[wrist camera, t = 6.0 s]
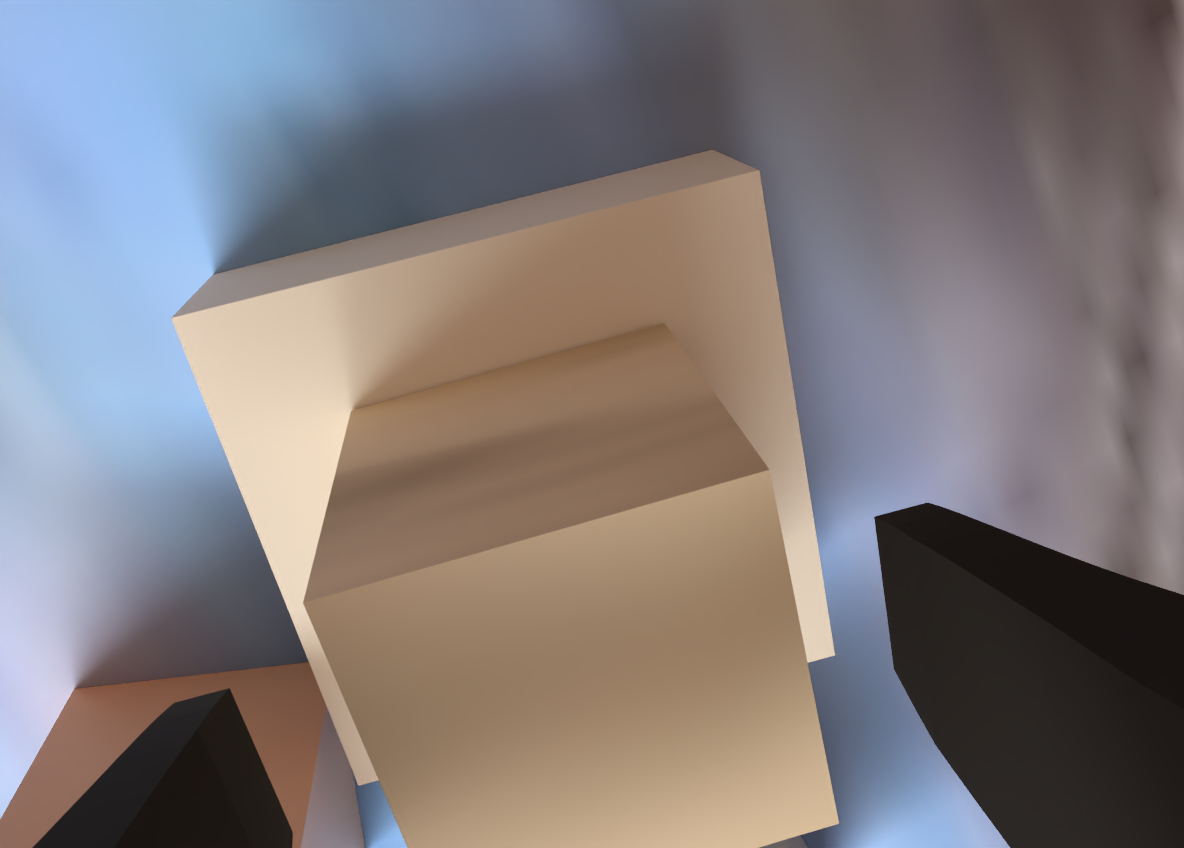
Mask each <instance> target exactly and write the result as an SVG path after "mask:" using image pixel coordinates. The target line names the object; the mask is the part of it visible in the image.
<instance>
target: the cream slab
mask: <svg viewBox="0 0 1184 848" xmlns="http://www.w3.org/2000/svg"><path fill="white" fill-rule="evenodd" d="M171 319H172V321H173V324H174V326H175V329H176V331H177V334H178V336H179V339H180V341H181V344H182V346H183V349H184V351H185V354H186V356H187V359H188V361H189V364H190V366H191V369H192V371H193V374H194V376H195V379H196V381H197V384H198V386H199V389H200V391H201V394H202V396H203V399H204V401H205V404H206V406H207V409H208V411H209V414H210V416H211V419H212V421H213V424H214V426H215V429H216V431H217V434H218V436H219V439H220V441H221V444H222V446H223V449H224V451H225V454H226V456H227V459H228V461H229V464H230V466H231V469H232V471H233V474H234V476H235V479H236V481H237V484H238V486H239V489H240V491H241V494H242V496H243V499H244V501H245V504H246V506H247V509H248V511H249V514H250V516H251V519H252V521H253V524H254V526H255V529H256V531H257V534H258V536H259V539H260V541H261V544H262V546H263V549H264V551H265V554H266V556H267V559H268V561H269V564H270V566H271V569H272V571H273V574H274V576H275V579H276V581H277V584H278V586H279V589H280V591H281V593H282V596H283V598H284V601H285V603H286V606H287V608H288V611H289V613H290V616H291V618H292V621H293V623H294V626H295V628H296V631H297V633H298V636H299V638H300V641H301V643H302V646H303V648H304V651H305V653H306V656H307V658H308V661H309V663H310V666H311V668H312V671H313V673H314V676H315V678H316V681H317V683H318V686H319V688H320V691H321V693H322V696H323V698H324V701H325V703H326V706H327V708H328V711H329V713H330V716H331V718H332V721H333V723H334V726H335V728H336V731H337V733H338V736H339V738H340V741H341V743H342V746H343V748H344V751H345V753H346V756H347V758H348V761H349V763H350V766H351V768H352V771H353V773H354V776H355V778H356V781H357V783H358V786H360V785H363V784H367V783H371V782H374V781H378V777H377V775H376V773H375V770H374V768H373V766H372V763H371V761H370V759H369V756H368V754H367V752H366V749H365V747H364V745H363V742H362V740H361V737H360V735H359V733H358V730H357V728H356V726H355V723H354V721H353V719H352V716H351V714H350V712H349V709H348V707H347V705H346V702H345V700H344V698H343V695H342V693H341V691H340V688H339V686H338V684H337V681H336V679H335V677H334V674H333V672H332V670H331V667H330V665H329V663H328V660H327V658H326V656H325V653H324V651H323V649H322V646H321V644H320V642H319V639H318V637H317V635H316V632H315V630H314V628H313V625H312V623H311V621H310V618H309V616H308V614H307V611H306V609H305V607H304V604H303V601H304V597H305V593H306V589H307V585H308V581H309V577H310V573H311V569H312V565H313V561H314V557H315V553H316V549H317V545H318V541H319V537H320V533H321V529H322V525H323V521H324V517H325V513H326V509H327V505H328V501H329V497H330V493H331V489H332V485H333V481H334V477H335V473H336V469H337V465H338V461H339V457H340V453H341V449H342V445H343V441H344V437H345V433H346V429H347V425H348V421H349V417H350V413H351V411H352V410H356V409H359V408H363V407H366V406H370V405H374V404H377V403H381V402H384V401H388V400H391V399H395V398H398V397H402V396H406V395H409V394H413V393H416V392H420V391H423V390H427V389H431V388H434V387H438V386H441V385H445V384H448V383H452V382H456V381H459V380H463V379H466V378H470V377H473V376H477V375H481V374H484V373H488V372H491V371H495V370H498V369H502V368H505V367H509V366H513V365H516V364H520V363H523V362H527V361H530V360H534V359H538V358H541V357H545V356H548V355H552V354H555V353H559V352H563V351H566V350H570V349H573V348H577V347H580V346H584V345H587V344H591V343H595V342H598V341H602V340H605V339H609V338H612V337H616V336H620V335H623V334H627V333H630V332H634V331H637V330H641V329H645V328H648V327H652V326H655V325H659V324H662V323H665V325H666V326H667V328H668V329H669V330H670V332H671V333H672V335H673V336H674V337H675V339H676V340H677V342H678V343H679V344H680V346H681V347H682V349H683V350H684V351H685V353H686V354H687V355H688V357H689V358H690V360H691V361H692V362H693V364H694V365H695V367H696V368H697V369H698V371H699V372H700V374H701V375H702V376H703V378H704V379H705V381H706V382H707V383H708V385H709V386H710V387H711V389H712V390H713V392H714V393H715V394H716V396H717V397H718V399H719V400H720V401H721V403H722V404H723V406H724V407H725V408H726V410H727V411H728V413H729V414H730V415H731V417H732V418H733V419H734V421H735V422H736V424H737V425H738V426H739V428H740V429H741V431H742V432H743V433H744V435H745V436H746V438H747V439H748V440H749V442H750V443H751V445H752V446H753V447H754V449H755V450H756V451H757V453H758V454H759V456H760V457H761V458H762V460H763V461H764V463H765V464H766V465H767V467H768V468H769V470H770V474H771V479H772V484H773V490H774V495H775V500H776V505H777V510H778V515H779V520H780V525H781V530H782V535H783V540H784V545H785V551H786V556H787V561H788V566H789V571H790V576H791V581H792V586H793V591H794V596H795V601H796V606H797V612H798V617H799V622H800V627H801V632H802V637H803V642H804V647H805V652H806V657H807V662H808V663H809V662H813V661H816V660H820V659H824V658H827V657H831V656H835V652H834V646H833V639H832V633H831V626H830V620H829V614H828V607H827V601H826V594H825V588H824V582H823V575H822V569H821V562H820V556H819V549H818V543H817V537H816V530H815V524H814V517H813V511H812V505H811V498H810V492H809V485H808V479H807V472H806V466H805V460H804V453H803V447H802V440H801V434H800V428H799V421H798V415H797V408H796V402H795V395H794V389H793V383H792V376H791V370H790V363H789V357H788V350H787V344H786V338H785V331H784V325H783V318H782V312H781V306H780V299H779V293H778V286H777V280H776V273H775V267H774V261H773V254H772V248H771V241H770V235H769V229H768V222H767V216H766V209H765V203H764V196H763V190H762V184H761V177H760V171H759V170H758V169H756V168H753V167H751V166H749V165H747V164H744V163H742V162H740V161H737V160H735V159H733V158H730V157H728V156H726V155H724V154H721V153H719V152H717V151H714V150H709V151H705V152H701V153H697V154H693V155H689V156H685V157H681V158H677V159H673V160H669V161H665V162H661V163H657V164H653V165H649V166H645V167H641V168H637V169H633V170H629V171H625V172H621V173H617V174H613V175H609V176H605V177H601V178H597V179H593V180H589V181H585V182H581V183H577V184H573V185H569V186H565V187H561V188H557V189H553V190H549V191H545V192H541V193H537V194H533V195H529V196H525V197H521V198H517V199H513V200H509V201H505V202H501V203H497V204H493V205H489V206H485V207H481V208H477V209H473V210H469V211H465V212H461V213H457V214H453V215H449V216H445V217H441V218H437V219H433V220H429V221H425V222H421V223H417V224H413V225H409V226H405V227H401V228H397V229H393V230H389V231H385V232H381V233H377V234H373V235H369V236H365V237H361V238H357V239H353V240H349V241H345V242H341V243H337V244H333V245H329V246H325V247H321V248H317V249H313V250H309V251H305V252H301V253H297V254H293V255H289V256H285V257H281V258H277V259H273V260H269V261H265V262H261V263H257V264H253V265H249V266H245V267H241V268H237V269H233V270H229V271H225V272H221V273H217V274H213V275H212V276H211V277H210V278H209V279H208V281H207V282H206V283H205V284H204V285H203V286H202V287H201V288H200V289H199V290H198V291H197V292H196V293H195V294H194V295H193V296H192V297H191V298H190V299H189V300H188V301H187V302H186V303H185V304H184V305H183V306H182V307H181V308H180V309H179V311H178V312H177V313H176V314H175V315H174V316H173V317H172V318H171Z"/></svg>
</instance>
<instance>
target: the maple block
mask: <svg viewBox="0 0 1184 848" xmlns="http://www.w3.org/2000/svg"><path fill="white" fill-rule="evenodd" d="M303 604H304V607H305V609H306V611H307V614H308V616H309V618H310V621H311V623H312V625H313V628H314V630H315V632H316V635H317V637H318V639H319V642H320V644H321V646H322V649H323V651H324V653H325V656H326V658H327V660H328V663H329V665H330V667H331V670H332V672H333V674H334V677H335V679H336V681H337V684H338V686H339V688H340V691H341V693H342V695H343V698H344V700H345V702H346V705H347V707H348V709H349V712H350V714H351V716H352V719H353V721H354V723H355V726H356V728H357V730H358V733H359V735H360V737H361V740H362V742H363V745H364V747H365V749H366V752H367V754H368V756H369V759H370V761H371V763H372V766H373V768H374V770H375V773H376V775H377V777H378V780H379V782H380V784H381V787H382V789H383V791H384V794H385V796H386V798H387V801H388V803H389V805H390V808H391V810H392V812H393V815H394V817H395V819H396V822H397V824H398V826H399V829H400V831H401V833H402V836H403V838H404V840H405V843H406V845H407V847H408V848H759V847H762V846H766V845H769V844H772V843H776V842H779V841H782V840H786V839H789V838H793V837H796V836H799V835H803V834H806V833H809V832H813V831H816V830H819V829H823V828H826V827H830V826H833V825H836V824H839V820H838V815H837V810H836V805H835V800H834V795H833V789H832V784H831V779H830V774H829V769H828V764H827V759H826V754H825V749H824V744H823V739H822V734H821V728H820V723H819V718H818V713H817V708H816V703H815V698H814V693H813V688H812V683H811V678H810V673H809V667H808V662H807V657H806V652H805V647H804V642H803V637H802V632H801V627H800V622H799V617H798V612H797V606H796V601H795V596H794V591H793V586H792V581H791V576H790V571H789V566H788V561H787V556H786V551H785V545H784V540H783V535H782V530H781V525H780V520H779V515H778V510H777V505H776V500H775V495H774V490H773V484H772V479H771V474H770V470H769V468H768V467H767V465H766V464H765V463H764V461H763V460H762V458H761V457H760V456H759V454H758V453H757V451H756V450H755V449H754V447H753V446H752V445H751V443H750V442H749V440H748V439H747V438H746V436H745V435H744V433H743V432H742V431H741V429H740V428H739V426H738V425H737V424H736V422H735V421H734V419H733V418H732V417H731V415H730V414H729V413H728V411H727V410H726V408H725V407H724V406H723V404H722V403H721V401H720V400H719V399H718V397H717V396H716V394H715V393H714V392H713V390H712V389H711V387H710V386H709V385H708V383H707V382H706V381H705V379H704V378H703V376H702V375H701V374H700V372H699V371H698V369H697V368H696V367H695V365H694V364H693V362H692V361H691V360H690V358H689V357H688V355H687V354H686V353H685V351H684V350H683V349H682V347H681V346H680V344H679V343H678V342H677V340H676V339H675V337H674V336H673V335H672V333H671V332H670V330H669V329H668V328H667V326H666V325H665V323H662V324H659V325H655V326H652V327H648V328H645V329H641V330H637V331H634V332H630V333H627V334H623V335H620V336H616V337H612V338H609V339H605V340H602V341H598V342H595V343H591V344H587V345H584V346H580V347H577V348H573V349H570V350H566V351H563V352H559V353H555V354H552V355H548V356H545V357H541V358H538V359H534V360H530V361H527V362H523V363H520V364H516V365H513V366H509V367H505V368H502V369H498V370H495V371H491V372H488V373H484V374H481V375H477V376H473V377H470V378H466V379H463V380H459V381H456V382H452V383H448V384H445V385H441V386H438V387H434V388H431V389H427V390H423V391H420V392H416V393H413V394H409V395H406V396H402V397H398V398H395V399H391V400H388V401H384V402H381V403H377V404H374V405H370V406H366V407H363V408H359V409H356V410H352V411H351V413H350V417H349V421H348V425H347V429H346V433H345V437H344V441H343V445H342V449H341V453H340V457H339V461H338V465H337V469H336V473H335V477H334V481H333V485H332V489H331V493H330V497H329V501H328V505H327V509H326V513H325V517H324V521H323V525H322V529H321V533H320V537H319V541H318V545H317V549H316V553H315V557H314V561H313V565H312V569H311V573H310V577H309V581H308V585H307V589H306V593H305V597H304V601H303Z"/></svg>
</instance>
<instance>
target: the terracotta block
mask: <svg viewBox="0 0 1184 848" xmlns="http://www.w3.org/2000/svg"><path fill="white" fill-rule="evenodd" d="M228 688H230V690H231V692H232V694H233V697H234V699H235V701H236V704H237V706H238V708H239V710H240V713H241V715H242V717H243V720H244V722H245V724H246V726H247V729H248V731H249V733H250V736H251V738H252V740H253V742H254V745H255V747H256V749H257V751H258V754H259V756H260V758H261V761H262V763H263V765H264V767H265V770H266V772H267V774H268V777H269V779H270V781H271V783H272V786H273V788H274V790H275V793H276V795H277V797H278V799H279V802H280V804H281V806H282V809H283V811H284V813H285V815H286V818H287V820H288V822H289V824H290V827H291V829H292V831H293V843H292V848H365V843H364V836H363V830H362V824H361V818H360V812H359V806H358V800H357V794H356V788H355V782H354V776H353V771H352V768H351V766H350V763H349V761H348V758H347V756H346V753H345V751H344V748H343V746H342V743H341V741H340V738H339V736H338V733H337V731H336V728H335V726H334V723H333V721H332V718H331V716H330V713H329V711H328V708H327V706H326V703H325V701H324V698H323V696H322V693H321V691H320V688H319V686H318V683H317V681H316V678H315V676H314V673H313V671H312V668H311V666H310V663H309V662H305V663H297V664H288V665H279V666H270V667H261V668H253V669H244V670H235V671H226V672H218V673H209V674H200V675H191V676H183V677H174V678H165V679H156V680H148V681H139V682H130V683H121V684H112V685H104V686H95V687H86V688H77V689H74V691H73V692H72V694H71V696H70V698H69V699H68V701H67V703H66V705H65V706H64V708H63V710H62V712H61V713H60V715H59V717H58V719H57V721H56V722H55V724H54V726H53V728H52V729H51V731H50V733H49V735H48V736H47V738H46V740H45V742H44V743H43V745H42V747H41V749H40V751H39V752H38V754H37V756H36V758H35V759H34V761H33V763H32V765H31V766H30V768H29V770H28V772H27V773H26V775H25V777H24V779H23V781H22V782H21V784H20V786H19V788H18V789H17V791H16V793H15V795H14V796H13V798H12V800H11V802H10V803H9V805H8V807H7V809H6V811H5V812H4V814H3V816H2V818H1V819H0V848H32V847H33V846H34V845H35V844H36V843H37V842H38V841H39V840H40V839H41V838H42V837H43V836H44V835H45V834H46V833H47V832H48V831H49V830H50V829H51V828H52V827H53V826H54V824H55V823H56V822H57V821H58V820H59V819H60V818H61V817H62V816H63V815H64V814H65V813H66V812H67V811H68V810H69V809H70V808H71V807H72V806H73V805H74V803H75V802H76V801H77V800H78V799H79V798H80V797H81V796H82V795H83V794H84V793H85V792H86V791H87V790H88V789H89V788H90V787H91V786H92V785H93V784H94V782H95V781H96V780H97V779H98V778H99V777H100V776H101V775H102V774H103V773H104V772H105V771H106V770H107V769H108V768H109V767H110V766H111V764H112V763H113V762H114V761H115V760H116V759H117V758H118V757H119V756H120V755H121V754H122V753H123V752H124V751H125V750H126V749H127V748H128V747H129V746H130V745H131V743H132V742H133V741H134V740H135V739H136V738H137V737H138V736H139V735H140V734H141V733H142V732H143V731H144V730H145V729H146V728H147V727H148V726H149V725H150V724H151V723H152V722H153V721H154V720H155V719H156V718H157V717H158V716H160V715H161V714H162V713H163V712H164V711H165V710H166V709H167V708H169V707H170V706H171V705H172V704H173V703H175V702H179V701H183V700H186V699H190V698H194V697H198V696H202V695H205V694H209V693H213V692H217V691H220V690H224V689H228Z"/></svg>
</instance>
